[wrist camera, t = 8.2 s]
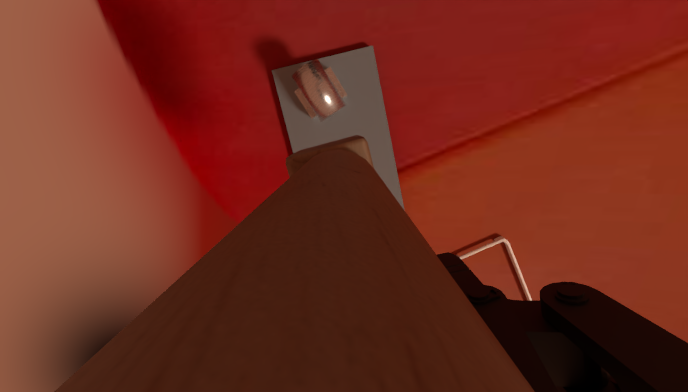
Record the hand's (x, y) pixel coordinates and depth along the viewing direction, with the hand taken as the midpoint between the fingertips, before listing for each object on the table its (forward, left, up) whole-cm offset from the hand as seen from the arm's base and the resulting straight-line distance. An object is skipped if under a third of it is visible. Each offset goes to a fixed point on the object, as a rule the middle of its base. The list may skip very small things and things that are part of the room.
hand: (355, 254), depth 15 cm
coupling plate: (0, 0, -23) cm, 23 cm away
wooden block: (0, 0, -3) cm, 3 cm away
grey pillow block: (-10, -1, -23) cm, 25 cm away
